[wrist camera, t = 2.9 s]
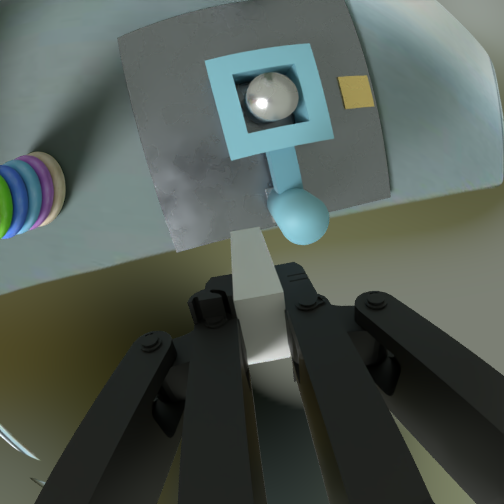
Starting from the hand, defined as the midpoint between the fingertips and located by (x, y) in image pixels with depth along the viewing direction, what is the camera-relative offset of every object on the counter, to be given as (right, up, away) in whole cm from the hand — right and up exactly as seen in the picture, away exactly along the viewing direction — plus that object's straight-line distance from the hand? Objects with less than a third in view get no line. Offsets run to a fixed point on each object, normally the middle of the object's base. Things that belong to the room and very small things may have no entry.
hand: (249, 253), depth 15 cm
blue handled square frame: (+2, +9, +8) cm, 13 cm away
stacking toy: (-22, +7, +8) cm, 25 cm away
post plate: (+1, +13, +8) cm, 15 cm away
